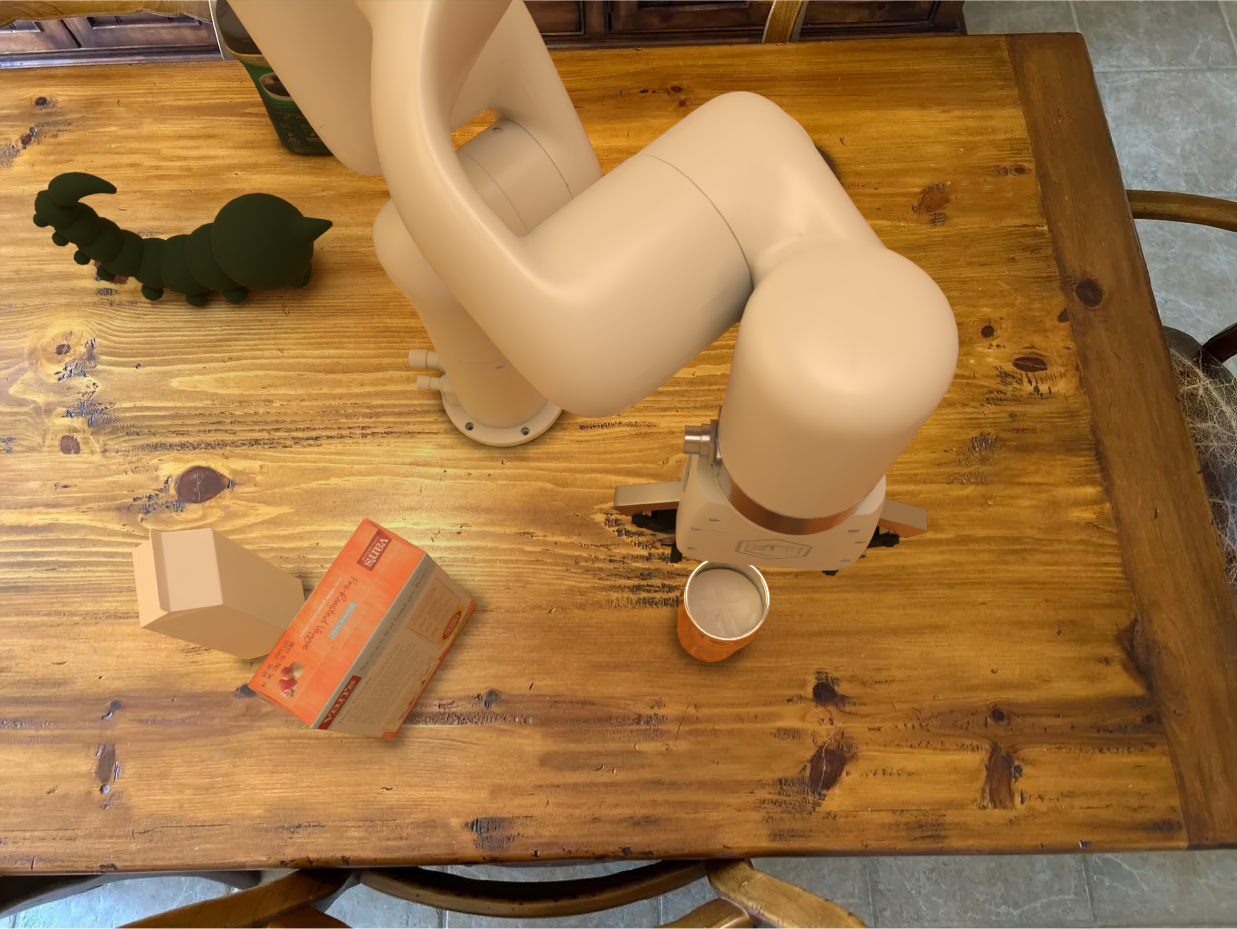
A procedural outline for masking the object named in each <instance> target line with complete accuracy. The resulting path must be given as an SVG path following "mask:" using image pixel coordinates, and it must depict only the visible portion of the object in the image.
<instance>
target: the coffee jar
mask: <svg viewBox="0 0 1237 929" xmlns="http://www.w3.org/2000/svg"><path fill="white" fill-rule="evenodd" d="M215 18H216V22H217V26H218V29H219V31H220V34H221V37H222V39H223V42H224V44H225V47H226V48H227V50H228V51H229V53H230V54H231V55H232V56H233V57H234V58H235V59H236V60H237V61H238V62H239V63H241V65H242V66H243V67H244V69H245V71H246V72H247V74H248V75H249V77H250V78H251V80H252V82H253V84H254V86H255V89H256V91H257V93H258V95H259V97H260V99H261V101H262V104H263V106H264V108H265V111H266V113H267V115H268V117H269V120H270V123H271V125H272V127H273V130H274V132H275V134H276V137H277V138H278V140H279V141H280V144H281V145H282V146H283V148H284V149H286V150H287V151H289V152H291V153H293V154H294V153H295V154H299V155H327V154H333V153H332V152H331V151H330V150H329V149H328V147H327V146H326V145H325V144H324V142H323V141H322V140H321V138H320V137H319V136H318V134H317V133H316V132H315V130H314V129H313V128H312V126H311V125H310V123H309V122H308V120H307V119H306V117H305V116H304V114H303V113H302V112H301V110H300V109H299V107H298V106H297V104H296V103H295V101H294V100H293V98H292V97H291V95H290V94H289V92H288V91H287V90H286V88H285V87H284V85H283V84H282V82H281V81H280V79H279V78H278V76H277V75H276V73H275V72H274V70H273V69H272V67H271V66H270V64H269V63H268V61H267V60H266V58H265V57H264V55H263V54H262V52H261V51H260V49H259V48H258V46H257V45H256V44H255V42H254V41H253V39H252V38H251V36H250V35H249V33H248V32H247V30H246V29H245V27H244V26H243V24H242V23H241V21H240V20H239V18H238V17H237V15H236V14H235V12H234V11H233V9H232V8H231V6H230V5H229V3H228V2H227V0H216V2H215Z"/></svg>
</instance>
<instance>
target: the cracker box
mask: <svg viewBox="0 0 1237 929" xmlns="http://www.w3.org/2000/svg"><path fill="white" fill-rule="evenodd" d="M477 606H478V604H477V603H476V602H475V600H474V599H473V598H471V596H470V595H468V593H467V592H466V591H465V590H464V589H463V588H462V587H461V586H460V585H459V584H458V583H457V582H456V581H455V580H454V579H453V578H452V577H451V576H450V575H449V574H448V573H447V572H446V571H445V570H444V569H443V568H442V567H441V565H439V564H438V563H437V561H436V560H434V559H433V558H432V557H431V555H430V554H429V553H427V551H426V550H424V549H422V548H420V547H419V546H417V545H415V544H413V543H412V542H411V541H408V540H407V539H406V538H405V539H404V538H403V537H401V536H400V535H398V534H396V533H394V532H393V531H391V530H389V529H388V528H386V527H384V526H382V525H381V524H379V523H378V522H375V521H373V520H371V518H368V517H366V516H363V517H362V519H361V520H360V522H359V523H358V525H357V526H356V528H355V529H354V530H353V532H352V533H351V535H350V536H349V537H348V538H347V541H346V542H345V543H344V545H343V546H342V548H341V550H340V551H339V552H338V554H337V555H336V557H334V560H333V561H332V563H331V564H330V566H329V567H328V568H327V570H326V572H324V575H323V576H322V577H321V578H320V580H319V582H318V583H317V585H316V586H315V587H314V588H313V590H312V592H311V593H310V594H309V596H308V598H307V599H306V600H305V603H304V605H303V606H302V608H301V609H300V611H299V612H298V614H297V615H296V617H295V618H294V620H293V621H292V622H291V624H290V625H289V626H288V628H287V629H286V631H285V632H284V633H283V635H282V636H281V638H280V639H279V640H278V642H277V643H276V645H275V646H274V648H273V649H272V650H271V652H270V653H269V654H267V655H266V657H265V659H264V660H263V662H262V663H261V665H260V666H259V668H257V671H255V673H254V675H253V677H252V678H251V679H250V680H249V682H248V684H247V687H248V688H249V689H251V691H254V692H255V693H257V694H258V695H260V696H261V697H263V698H265V699H266V700H267V701H270V703H273V704H274V705H276V706H277V707H279V708H280V709H282V710H284V711H285V712H287V713H288V714H290V715H292V716H293V717H295V718H297V719H298V720H299V721H301V722H302V723H304V725H305V724H306V725H307V726H308V727H309V729H313V730H314V729H315V730H321V731H328V732H334V733H341V734H348V735H354V736H355V735H356V736H361V737H370V738H371V737H372V738H378V739H379V738H380V739H387V740H393V739H394V738H395V737H396V735H397V734H398V732H399V731H400V729H401V727H402V726H403V724H404V722H405V721H406V719H407V718H408V717H409V715H410V713H411V712H412V710H413V708H414V707H415V705H416V704H417V702H418V700H419V699H420V698H421V696H422V694H423V693H424V691H425V689H426V687H427V686H428V684H429V682H430V681H431V680H432V678H433V676H434V675H435V673H436V671H437V670H438V669H439V667H440V665H441V663H442V662H443V660H444V659H445V657H446V656H447V654H448V653H449V651H450V649H451V648H452V646H453V645H454V643H455V641H456V639H457V638H458V636H459V635H460V633H461V632H462V630H463V629H464V627H465V626H466V624H467V622H468V620H469V619H470V617H471V615H472V614H473V613H474V611H475V609H476V607H477Z"/></svg>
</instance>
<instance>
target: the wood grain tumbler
mask: <svg viewBox="0 0 1237 929" xmlns="http://www.w3.org/2000/svg"><path fill="white" fill-rule="evenodd" d="M770 592H771V591H770V587H769V585H768V582H767V580H766V578H765V576H764V575H763V574H762V572H761V570H760V569H759V568H757V566H753V565H741V564H729V563H719V562H709V561H702V562H700V563H699V564H697V565H696V566H695V567H694V569H693V570H692V571H691V572H690V573H689V575H688V577H687V578H686V580H685V582H684V583H683V585H682V587H681V590H680V592H679V596H678V603H677V616H678V617H677V623H676V632H677V638H678V640H679V643H680V644H681V646H682V647H683V649H684V650H685V651H686V652H687V653H688V654H689V655H691V657H693V658H695V659H697V660H700V661H702V662H708V663H715V662H721V661H723V660H726V659H728V658H729V657H731V656H732V655H734V654H735V653H736V651H738V650H740V649H742V648H744V647H746V646H747V645H748V644H749V643H751V642H752V641H753V640H754V639H755V638H756V637H757V635H758V634H759V633H760V631H761V629H762V628H763V626H764V624H765V622H766V620H767V617H768V616H769V612H770V609H771V608H770V607H771V593H770Z"/></svg>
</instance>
